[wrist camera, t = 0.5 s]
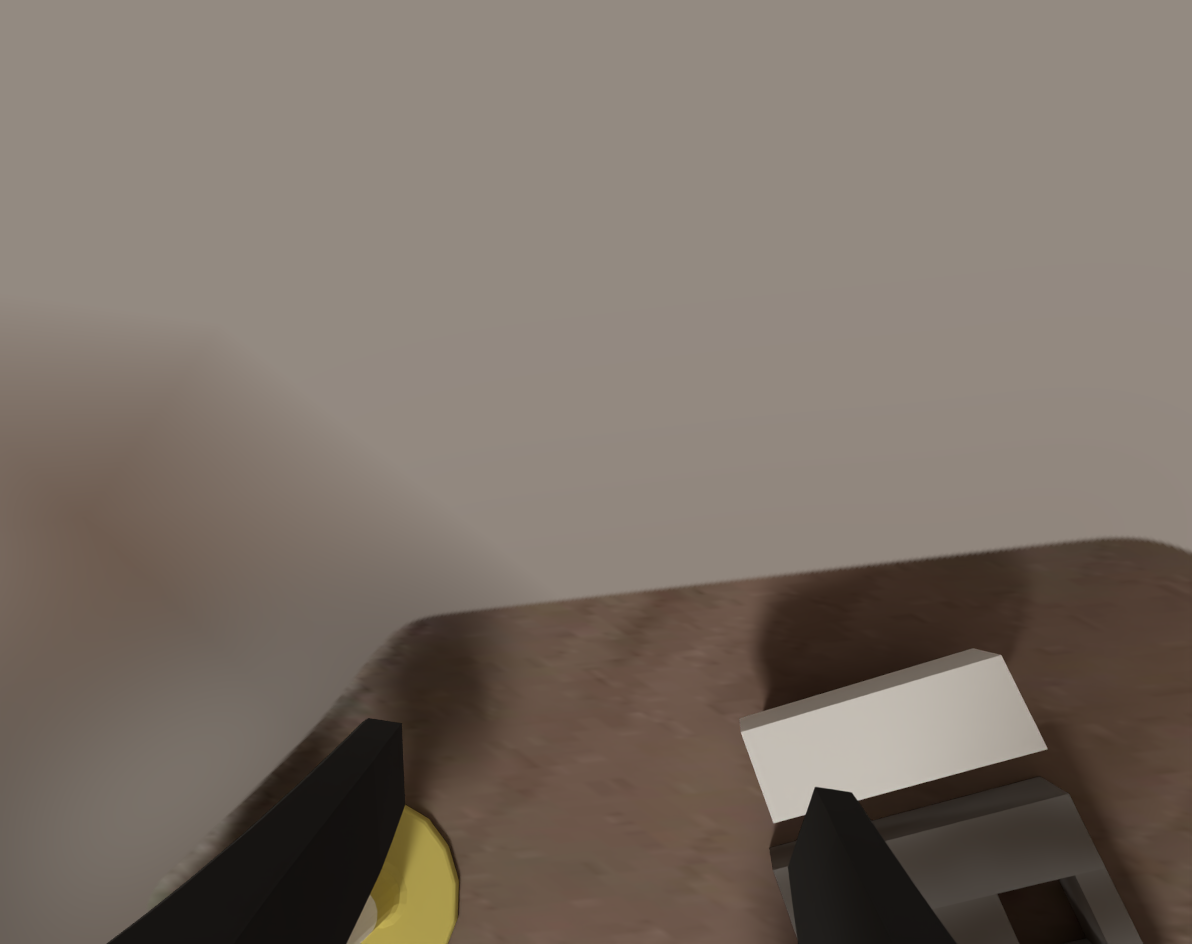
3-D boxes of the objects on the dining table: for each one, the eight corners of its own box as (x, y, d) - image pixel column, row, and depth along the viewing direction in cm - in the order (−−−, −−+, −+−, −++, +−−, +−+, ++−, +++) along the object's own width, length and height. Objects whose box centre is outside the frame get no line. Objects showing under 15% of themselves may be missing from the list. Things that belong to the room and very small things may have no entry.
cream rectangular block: (989, 720, 29) (1047, 749, 24) (765, 783, 31) (773, 823, 26) (953, 643, 30) (1001, 654, 25) (738, 708, 32) (740, 732, 27)
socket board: (1152, 1008, 26) (1196, 1051, 23) (848, 1070, 28) (859, 1115, 25) (1039, 776, 28) (1068, 793, 26) (769, 847, 30) (772, 870, 28)
